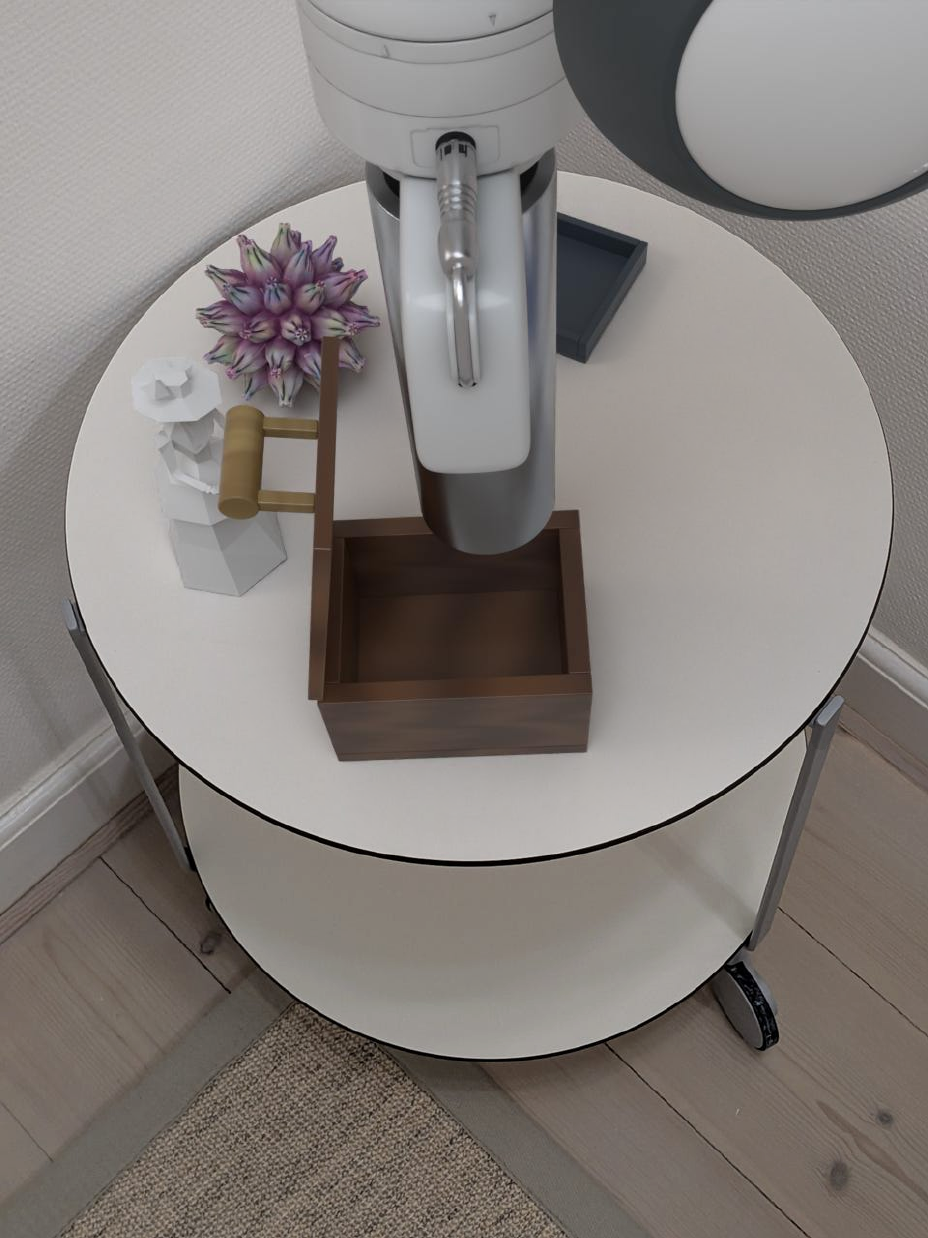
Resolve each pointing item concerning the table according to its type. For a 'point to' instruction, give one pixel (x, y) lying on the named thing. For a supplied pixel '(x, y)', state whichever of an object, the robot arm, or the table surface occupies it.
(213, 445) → the figurine
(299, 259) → the flower
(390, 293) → the flask
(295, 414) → the table surface
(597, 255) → the tray
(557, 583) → the chest
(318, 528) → the lid
